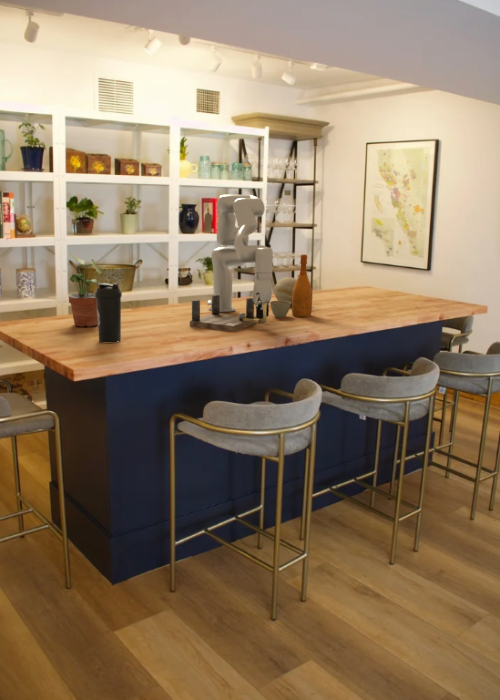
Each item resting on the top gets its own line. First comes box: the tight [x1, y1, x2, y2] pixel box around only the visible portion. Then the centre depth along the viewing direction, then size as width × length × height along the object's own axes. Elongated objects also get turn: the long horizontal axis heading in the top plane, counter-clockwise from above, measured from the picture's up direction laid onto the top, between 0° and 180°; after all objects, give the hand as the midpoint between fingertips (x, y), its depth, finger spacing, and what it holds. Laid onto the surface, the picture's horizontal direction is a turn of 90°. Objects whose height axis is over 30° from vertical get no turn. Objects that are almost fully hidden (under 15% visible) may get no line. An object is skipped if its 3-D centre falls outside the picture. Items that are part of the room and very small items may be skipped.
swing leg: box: [238, 302, 267, 324], centre depth 289 cm, size 13×4×9 cm, turn 64°
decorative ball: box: [273, 276, 297, 306], centre depth 349 cm, size 15×15×15 cm
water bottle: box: [94, 282, 123, 343], centre depth 258 cm, size 10×10×23 cm
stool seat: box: [189, 294, 257, 333], centre depth 295 cm, size 22×22×12 cm
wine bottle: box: [291, 253, 313, 318], centre depth 318 cm, size 10×10×30 cm
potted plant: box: [68, 252, 106, 328], centre depth 285 cm, size 16×15×35 cm
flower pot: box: [269, 300, 292, 318], centre depth 317 cm, size 10×10×7 cm
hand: (262, 316), depth 287 cm, fingers open, 4 cm apart
